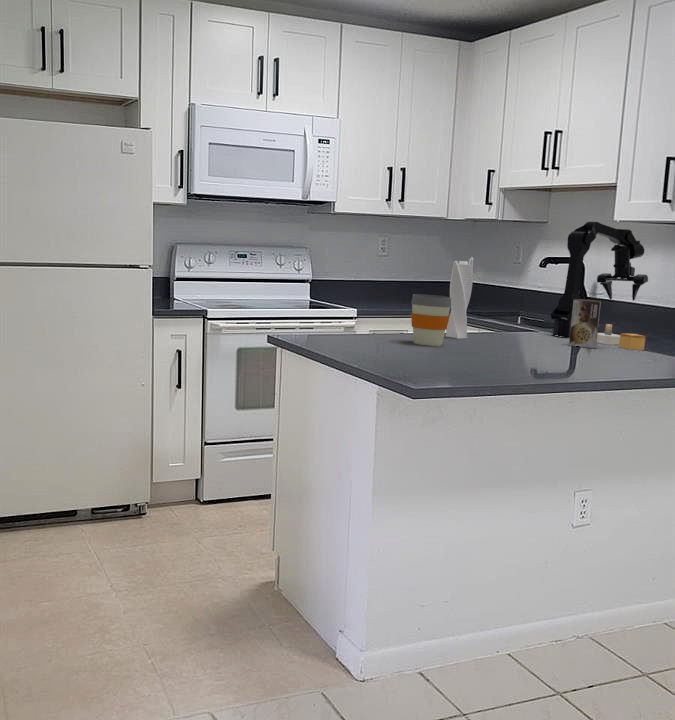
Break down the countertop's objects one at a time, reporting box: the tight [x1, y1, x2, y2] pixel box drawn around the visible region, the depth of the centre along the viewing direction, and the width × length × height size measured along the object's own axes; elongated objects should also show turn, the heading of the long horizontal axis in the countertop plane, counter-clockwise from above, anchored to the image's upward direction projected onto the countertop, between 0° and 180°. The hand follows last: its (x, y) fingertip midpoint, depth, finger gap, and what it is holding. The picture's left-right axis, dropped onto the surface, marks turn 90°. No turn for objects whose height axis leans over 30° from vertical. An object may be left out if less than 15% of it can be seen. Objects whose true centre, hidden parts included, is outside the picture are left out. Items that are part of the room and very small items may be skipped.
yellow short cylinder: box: [618, 332, 647, 351], centre depth 300 cm, size 6×6×5 cm
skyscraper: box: [444, 256, 475, 340], centre depth 292 cm, size 8×8×28 cm
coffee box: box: [568, 298, 602, 349], centre depth 295 cm, size 9×6×16 cm
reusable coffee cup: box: [410, 293, 451, 347], centre depth 268 cm, size 13×12×15 cm
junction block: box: [597, 323, 620, 346], centre depth 314 cm, size 10×10×7 cm
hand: (622, 299), depth 342 cm, fingers open, 9 cm apart
